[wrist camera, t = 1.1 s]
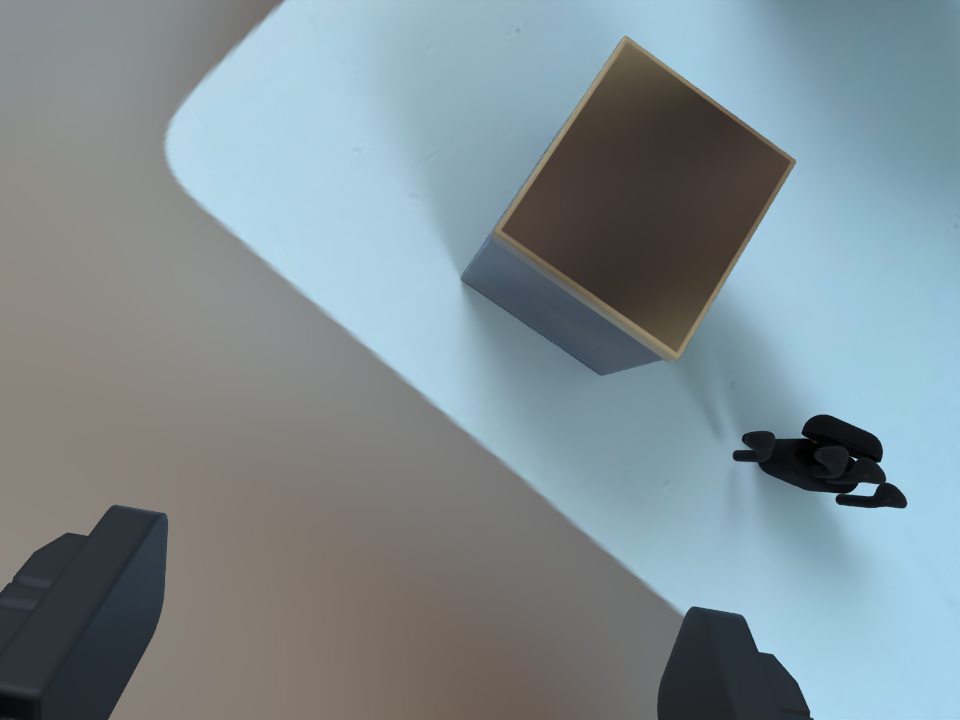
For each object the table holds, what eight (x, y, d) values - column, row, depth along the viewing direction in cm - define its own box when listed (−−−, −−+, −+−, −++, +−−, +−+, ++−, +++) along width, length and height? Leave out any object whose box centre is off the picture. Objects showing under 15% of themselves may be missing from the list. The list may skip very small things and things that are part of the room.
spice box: (455, 279, 33) (492, 231, 26) (562, 121, 35) (625, 33, 27) (602, 380, 34) (678, 361, 26) (700, 220, 35) (798, 160, 28)
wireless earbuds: (704, 451, 34) (767, 451, 29) (723, 394, 35) (789, 385, 30) (850, 512, 35) (935, 522, 30) (866, 457, 36) (953, 458, 31)
